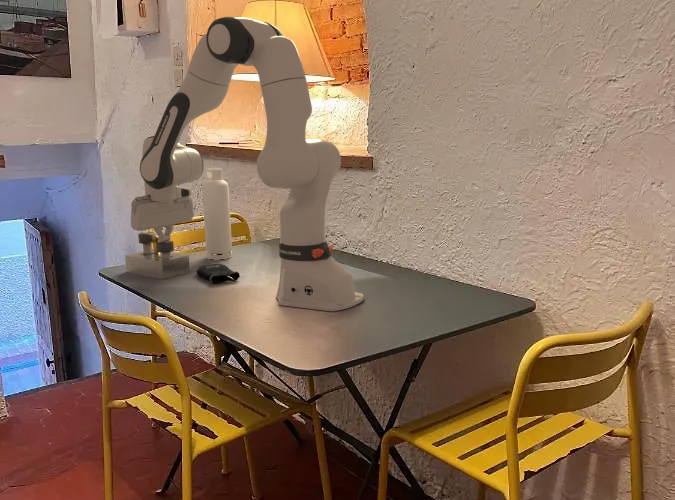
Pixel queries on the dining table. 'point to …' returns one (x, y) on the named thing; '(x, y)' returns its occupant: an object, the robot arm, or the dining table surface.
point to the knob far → (146, 241)
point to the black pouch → (215, 272)
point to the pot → (155, 244)
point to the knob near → (165, 248)
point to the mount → (157, 264)
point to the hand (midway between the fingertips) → (164, 241)
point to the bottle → (217, 215)
